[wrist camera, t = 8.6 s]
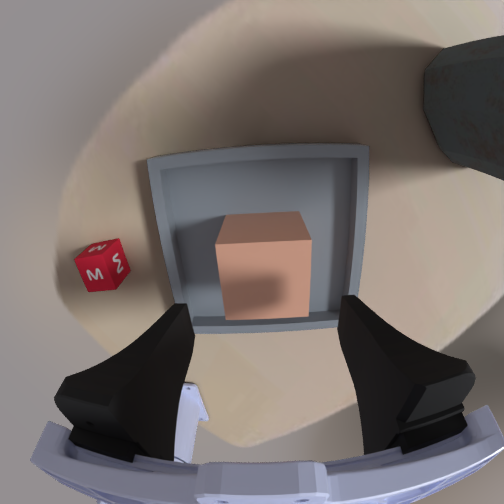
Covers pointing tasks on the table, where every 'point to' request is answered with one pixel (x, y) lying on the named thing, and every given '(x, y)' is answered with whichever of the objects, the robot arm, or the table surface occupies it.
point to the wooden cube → (264, 265)
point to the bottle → (469, 104)
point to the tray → (262, 201)
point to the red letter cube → (103, 265)
